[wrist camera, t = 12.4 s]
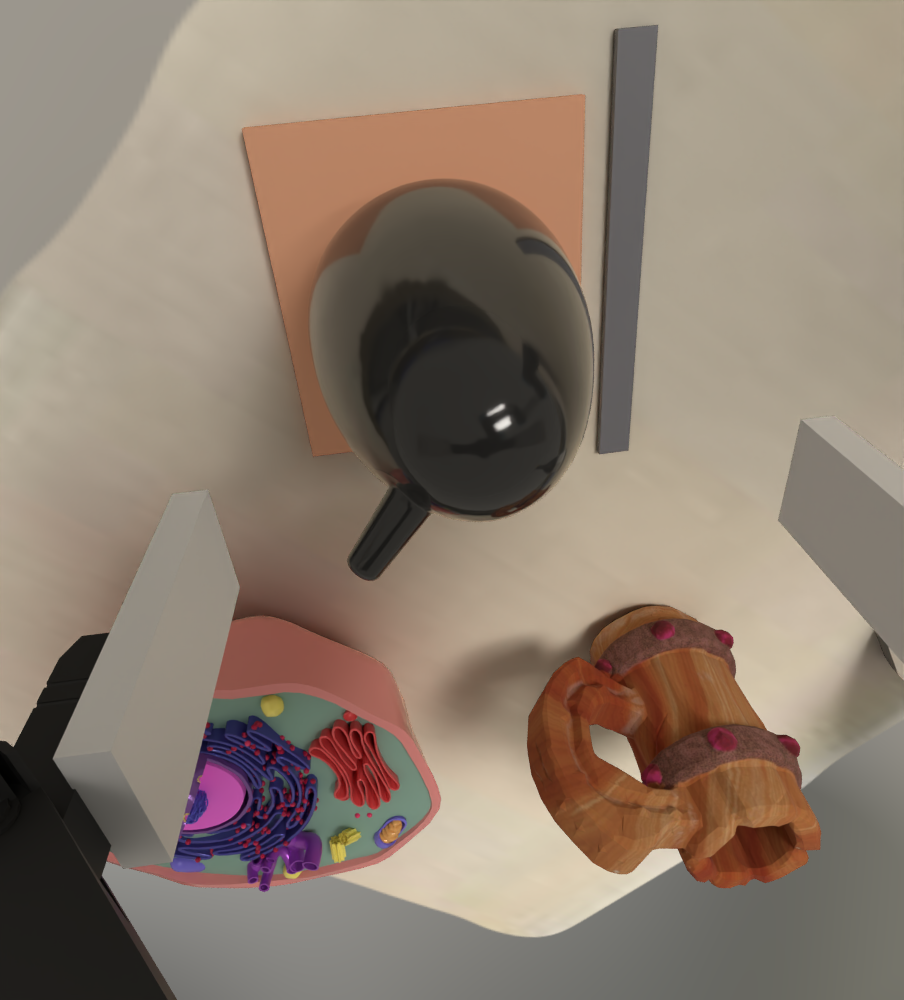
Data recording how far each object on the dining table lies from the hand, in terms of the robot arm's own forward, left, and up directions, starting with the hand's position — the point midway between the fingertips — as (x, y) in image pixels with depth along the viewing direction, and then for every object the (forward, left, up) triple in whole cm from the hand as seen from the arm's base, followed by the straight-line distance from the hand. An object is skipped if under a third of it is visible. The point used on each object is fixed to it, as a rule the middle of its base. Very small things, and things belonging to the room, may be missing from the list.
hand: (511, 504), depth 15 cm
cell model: (+12, +22, -18) cm, 31 cm away
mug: (-9, +22, -18) cm, 30 cm away
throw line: (-8, 0, -17) cm, 19 cm away
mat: (0, 0, -17) cm, 17 cm away
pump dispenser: (0, 0, -17) cm, 17 cm away
